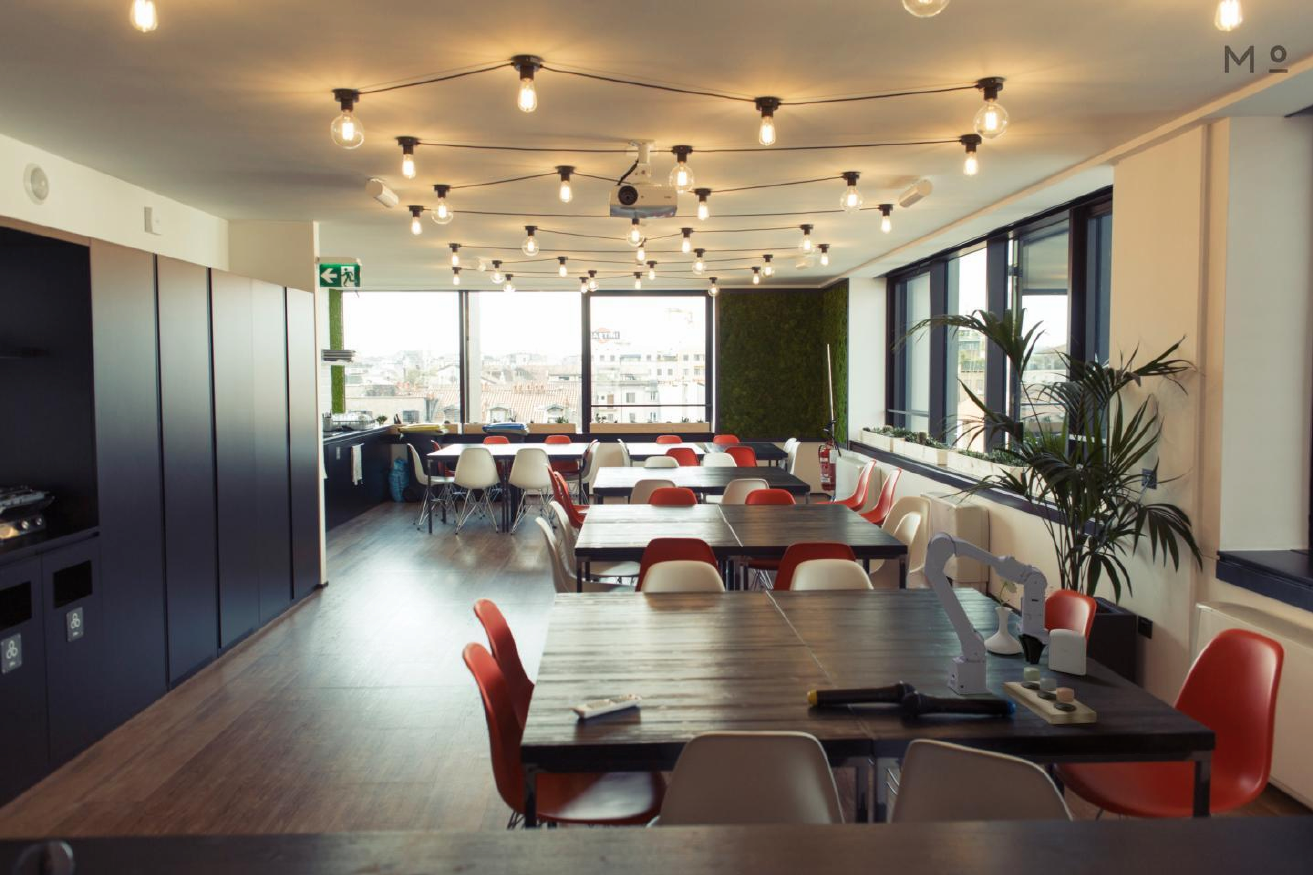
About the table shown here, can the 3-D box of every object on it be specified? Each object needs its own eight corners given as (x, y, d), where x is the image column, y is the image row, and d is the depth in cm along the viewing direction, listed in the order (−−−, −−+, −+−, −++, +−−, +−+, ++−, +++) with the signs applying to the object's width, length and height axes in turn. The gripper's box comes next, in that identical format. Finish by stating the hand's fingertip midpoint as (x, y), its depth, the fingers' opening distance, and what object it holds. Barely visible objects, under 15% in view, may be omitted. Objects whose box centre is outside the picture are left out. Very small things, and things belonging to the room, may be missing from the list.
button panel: (1050, 723, 220) (1051, 712, 220) (1003, 690, 244) (1003, 680, 244) (1096, 722, 221) (1096, 711, 221) (1044, 689, 245) (1044, 679, 245)
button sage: (1028, 681, 238) (1028, 672, 238) (1020, 676, 242) (1021, 667, 242) (1042, 680, 239) (1042, 671, 238) (1034, 675, 242) (1035, 667, 242)
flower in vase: (1025, 658, 273) (1027, 578, 272) (986, 656, 275) (988, 576, 274) (1017, 646, 286) (1019, 569, 284) (980, 644, 288) (981, 568, 287)
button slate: (1044, 691, 230) (1045, 682, 230) (1036, 686, 234) (1036, 677, 234) (1059, 690, 231) (1059, 681, 230) (1050, 685, 235) (1051, 676, 234)
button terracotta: (1062, 702, 222) (1062, 692, 222) (1053, 696, 226) (1053, 687, 226) (1077, 701, 223) (1077, 692, 222) (1068, 696, 227) (1068, 687, 226)
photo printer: (1046, 669, 263) (1047, 628, 262) (1051, 665, 266) (1052, 625, 265) (1082, 677, 256) (1084, 634, 255) (1087, 673, 259) (1088, 631, 258)
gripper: (1062, 620, 232) (1061, 670, 233) (1033, 606, 247) (1032, 654, 248) (1037, 620, 232) (1035, 671, 233) (1009, 607, 246) (1008, 655, 247)
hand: (1032, 662), depth 240 cm, fingers closed
